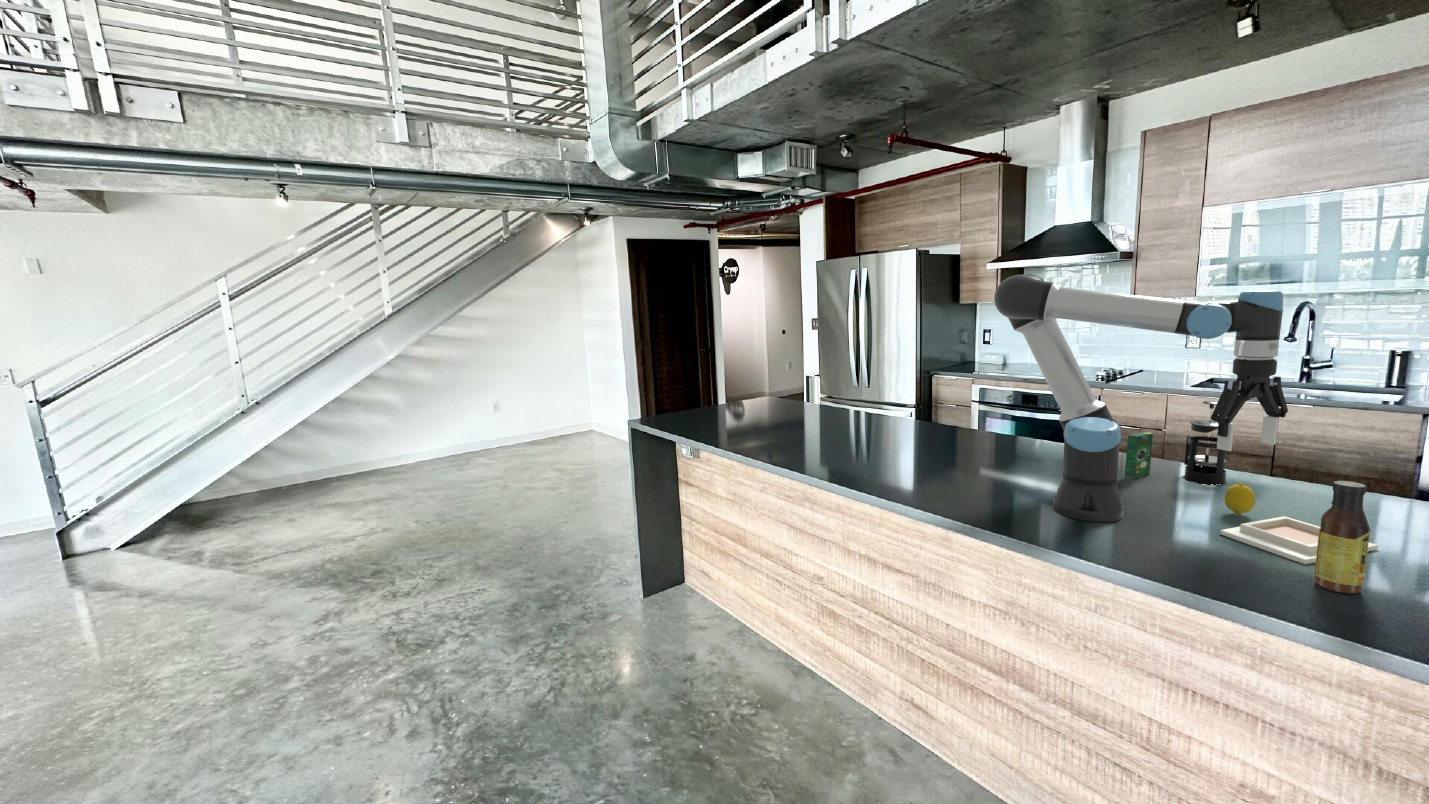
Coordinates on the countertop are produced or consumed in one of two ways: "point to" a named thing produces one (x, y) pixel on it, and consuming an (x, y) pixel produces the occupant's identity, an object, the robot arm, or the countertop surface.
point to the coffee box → (1138, 455)
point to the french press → (1205, 472)
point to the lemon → (1239, 498)
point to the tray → (1282, 537)
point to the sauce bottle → (1343, 540)
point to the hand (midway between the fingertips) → (1246, 446)
